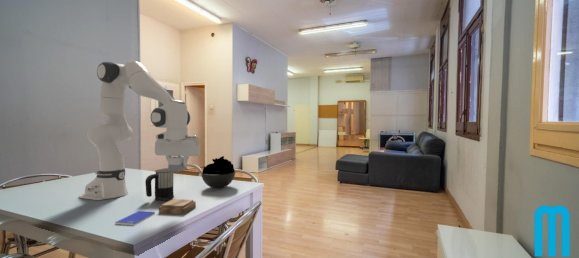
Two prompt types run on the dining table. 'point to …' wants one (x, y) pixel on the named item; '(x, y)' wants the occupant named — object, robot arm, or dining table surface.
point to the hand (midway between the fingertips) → (177, 165)
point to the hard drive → (135, 218)
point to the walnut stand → (177, 206)
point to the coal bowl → (218, 173)
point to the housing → (176, 163)
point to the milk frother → (161, 185)
